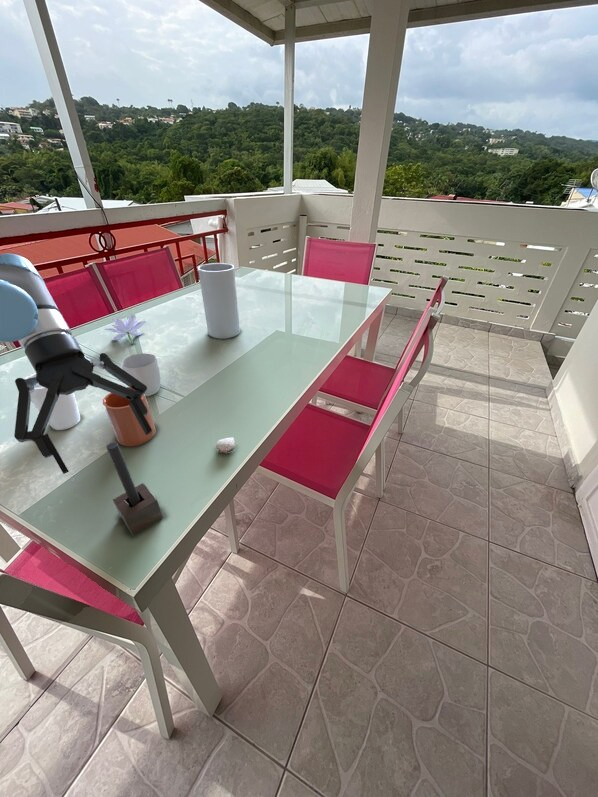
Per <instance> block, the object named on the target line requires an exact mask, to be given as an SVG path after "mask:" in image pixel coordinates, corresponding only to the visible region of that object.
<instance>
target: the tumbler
mask: <svg viewBox="0 0 598 797" xmlns="http://www.w3.org/2000/svg"><path fill="white" fill-rule="evenodd" d="M127 388H129V389H131V390H133V389H132V388H130V387H129V386H127ZM134 391H135V390H134ZM141 399H142V401H143V403H144V405H145V406H146V408H147V410H148V413H147V415H145V418H146V420H147V422H148V424H149V425H150V427H151V429H152V431H151V433H150V434H148V435H146V434H145V432H144V430H143V429H142V427H141V425H140V423H139V422H138V420H137V418H136V416H135V414H134V413H133V411H132V409H131V407H130V406H129V403H130V400H128V399H126V398H123V397H121V396H118V395H116V394H113V393H111V392H108V394H106V395H105V396H104V398H103V399H102V406H103V408H104V411H105V413H106V415H107V418H108V421H109V423H110V425H111V428H112V431H113V433H114V435H115V438H116V440H117V443H118V444H119V445H122V446H125V447H137V446H140V445H142V444H145V443H147V442H148V441H151V439H152V438H153V437H154V436H155V434H156V431H157V429H156V425H155V421H154V419H153V415H152V411H151V409H150V406H149V402H148V399H147V396H146V395H145V394H144V395H142V396H141Z"/></svg>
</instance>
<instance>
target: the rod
mask: <svg viewBox="0 0 598 797" xmlns="http://www.w3.org/2000/svg"><path fill="white" fill-rule="evenodd" d="M106 450H107V452H108V455H109V457H110V459H111V462H112V464H113V467H114V469H115V471H116V473H117V476H118V478H119V480H120V483H121V485H122V486H123V489H124V493H126V494H127V496H128V499H129V501H130V503H131V505H132V507H133V506H135V505H137V504H138V503H140V502H141V500H140V498H139V495H138V493H137V490H136V488H135V487H136V485H135V483H134V480H133V478H132V476H131V473H130V471H129V468H128V466H127V463H126V461H125V459H124V456H123V453H122V451H121V449H120V446H119V443H118V442H114V441H113V442H110V443H108V444H107V445H106Z"/></svg>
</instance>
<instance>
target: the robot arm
mask: <svg viewBox="0 0 598 797" xmlns="http://www.w3.org/2000/svg"><path fill="white" fill-rule="evenodd" d="M17 341H18V343H19V345H20V347H21V348H22V349H23V350H24V354H25V355H26V358H27V359H28V361H29V362H30V364H31V366H32V368H33V370H34V373H36V377H34V378H29V379H24V378H22V377H17V378H16V379H15V380H14V384H15V386H16V389H17V392H18V397H17V406H16V416H15V425H14V426H15V427H14V435H13V437H14V439H16V441H17V442H19V443H25V442H34V443H35V446H36V448H37V449H38V451H39V452H40V454H41V456H42V457H43V458H45V459H48V458H50V457H53V459H54V460H55V462H56V464H57V465H58V467H59V469H60V471H61V473H62V474H63V475H65V474H67V473H69V469H68V467H67V466H66V464H65V462H64V460H63V459H62V457H61V455H60V454H59V451H58V449H57V448H56V446H55V444H54V443H53V441H52V439H51V437H50V435H49V434H48V433H45V432H46V430H47V427H48V424H49V423H48V422H49V419H50V416H51V414H52V411H53V409H54V406H55V404H56V402H57V400H58V398H59V395H60V394H62V395H69V394H72V393H73V392H74V393H75V392H79V391H84V390H87V387H88V386H91V387H93V388H98V389H100V390H104V391H105V392H108V393H113V394H116V395H118V396H121V397H123V398H126V399H128V400H130V403H129V406H130V407H131V409H132V411H133V413H134V414H135V416H136V418H137V420H138V422H139V423H140V425H141V427H142V429H143V430H144V432H145V434H146V435H148V434H150V433H151V431H152V429H151V427H150V425H149V424H148V422H147V420H146V418H145V415H147V413H148V410H147V408H146V406H145V405H144V403H143V401H142V399H141V396H142V395H144V394H145V392H146V390H147V386H146V385H144V384H143V383H141V382H140V381H139V380H137V379H136V378H134V377H133V376H131V375H130V374H129V373H127V372H126V371H124V370H123V369H122V367H120V365H119V366H118V365H117V364H116V363H115V362H113V361H112V359H111V358H110V357H109V356H108V354H107V353H105V352H101V353H99V356H97V357H95V358H93V359H89V358H88V357H87V356H86V354H85V353H84V352H83V350H82V348H81V346H80V344H79V342H78V340H77V339H76V337H75V336H73V332H72V330H71V329H70V327H69V324H68V323H67V322H66V320H65V318H64V316H63V314H62V313H61V311H60V308H59V307H58V306H57V304H56V302H55V300H54V298H53V296H52V295H51V293H50V291H49V289H48V287H47V285H46V282H45V281H44V279H43V277H42V276H41V275H40V273H39V272H38V270H37V269H36V268H35V266H34V265H33V263H32V262H31V261H30V260H28V259H27V258H25V257H23V256H22V255H19V254H14V253H7V252H4V253H3V252H2V254H0V342H1V343H13V342H17ZM95 367H96V368H99V369H100V370H105V371H106V372H107V373H108V374H110V375H111V376H113V377H114V378H115V379H117V380H119V381H120V382H122V383H123V384H124V385H126V386H127V387H130V388H132V389H133V390H131V389H129V388H127V387H126V386H124V385H122V384H119V383H117V382H114V381H111V380H110V379H106V378H105V377H103V376H101V375H100V374H98V373H95V372H94V368H95ZM38 384H39V385H41V386H43V387H45V388H47V389H48V390H47V393H46V397H45V399H44V402H43V404H42V407H41V409H40V412H39V411H38V414H37V417H36V419H35V421H34V424H33V427H32V428H31V429H32V430H29V424H30V423H29V422H30V415H31V414H30V413H31V403H32V401H31V395H30V393H31V392H33V391H34V390H35V386H36V385H38ZM134 390H135V391H134Z"/></svg>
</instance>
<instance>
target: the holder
mask: <svg viewBox="0 0 598 797" xmlns="http://www.w3.org/2000/svg"><path fill="white" fill-rule="evenodd" d="M135 488H136V490H137V493H138V495H139V498H140V500H141V502H140V503H138V504H137V505H135V506H133V507H132V505H131V503H130V501H129V499H128V496H127V494H126V492H124V493H122V494H120V495H119V496H117V497H115V498H112V501H113V504H114V505H115V508H116V510H117V512H118V514H119V516H120V518H121V520H122V522H123V523H124V524H125V526H126V527H127V529H128V531H129V532H130V534H131V536H132V537H134V536H136V535H137V534H139V533H141V532H142V531H144V530H146V528H148V527H150V526H152V525H153V524H154V523H156V522H158V521H159V520H161V519H162V518H163V517H164V516H163V513H162V510H161V508H160V505H159V501H158V499H157V498H156V496H155V495H154V494H153V493H152V492H151V490H150V489H149V488H148V486H147V485H146V484H145V482H142V483H140V484H138V485H135Z"/></svg>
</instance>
